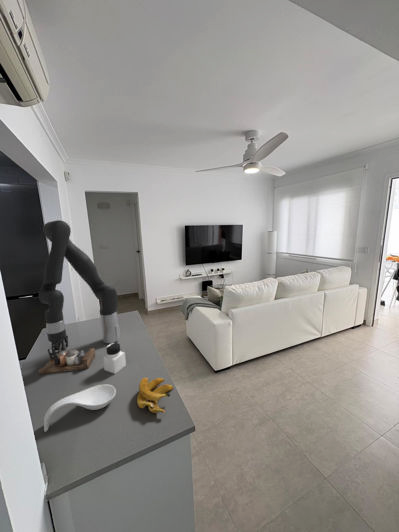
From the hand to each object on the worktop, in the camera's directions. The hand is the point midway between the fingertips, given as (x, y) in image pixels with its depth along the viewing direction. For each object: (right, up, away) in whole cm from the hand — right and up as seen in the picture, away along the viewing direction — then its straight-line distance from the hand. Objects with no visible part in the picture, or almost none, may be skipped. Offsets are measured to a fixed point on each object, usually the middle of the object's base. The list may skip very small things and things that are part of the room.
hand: (61, 361), depth 107 cm
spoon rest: (+26, -7, -27) cm, 38 cm away
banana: (+52, -5, -22) cm, 57 cm away
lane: (+3, -2, +1) cm, 4 cm away
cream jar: (+6, -2, +1) cm, 6 cm away
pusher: (+9, -1, +1) cm, 9 cm away
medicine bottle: (+28, -2, -3) cm, 28 cm away
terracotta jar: (0, -1, 0) cm, 1 cm away
